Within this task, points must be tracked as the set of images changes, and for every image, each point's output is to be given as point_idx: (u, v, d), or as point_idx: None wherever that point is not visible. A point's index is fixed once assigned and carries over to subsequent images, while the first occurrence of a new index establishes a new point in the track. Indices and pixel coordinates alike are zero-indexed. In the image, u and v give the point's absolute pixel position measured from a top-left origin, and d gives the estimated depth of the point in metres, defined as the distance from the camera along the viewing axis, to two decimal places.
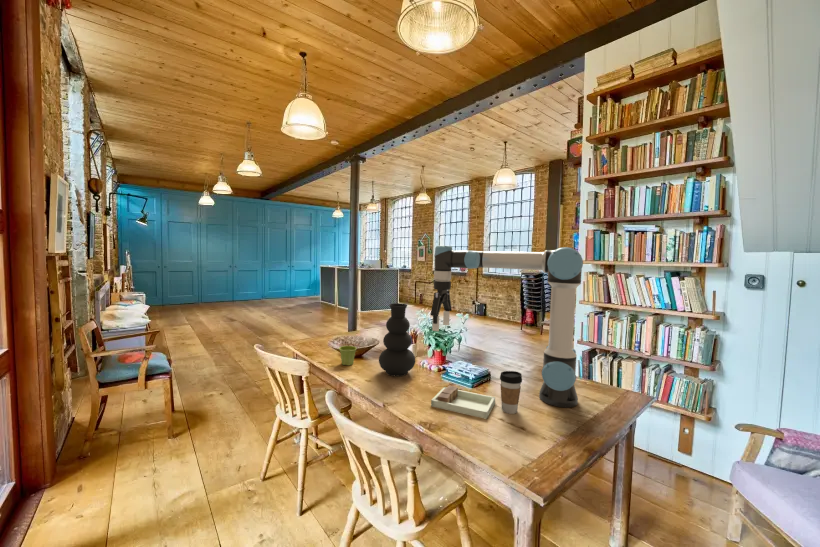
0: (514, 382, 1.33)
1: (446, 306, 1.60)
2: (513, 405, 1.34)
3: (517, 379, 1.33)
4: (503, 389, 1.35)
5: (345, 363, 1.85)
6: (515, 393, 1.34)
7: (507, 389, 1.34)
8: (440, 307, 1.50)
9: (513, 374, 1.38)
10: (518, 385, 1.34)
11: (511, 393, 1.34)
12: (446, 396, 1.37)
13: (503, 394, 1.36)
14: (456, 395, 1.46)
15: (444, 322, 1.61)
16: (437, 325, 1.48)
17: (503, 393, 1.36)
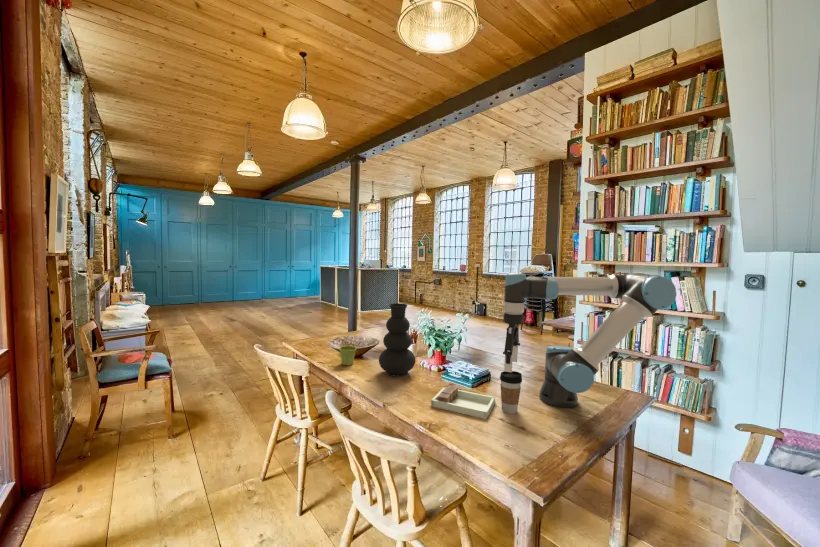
0: (514, 382, 1.33)
1: (515, 340, 1.41)
2: (513, 405, 1.34)
3: (517, 379, 1.33)
4: (503, 389, 1.35)
5: (345, 363, 1.85)
6: (515, 393, 1.34)
7: (507, 389, 1.34)
8: (513, 344, 1.31)
9: (513, 374, 1.38)
10: (518, 385, 1.34)
11: (511, 393, 1.34)
12: (446, 396, 1.37)
13: (503, 394, 1.36)
14: (456, 395, 1.46)
15: None
16: (510, 365, 1.30)
17: (503, 393, 1.36)
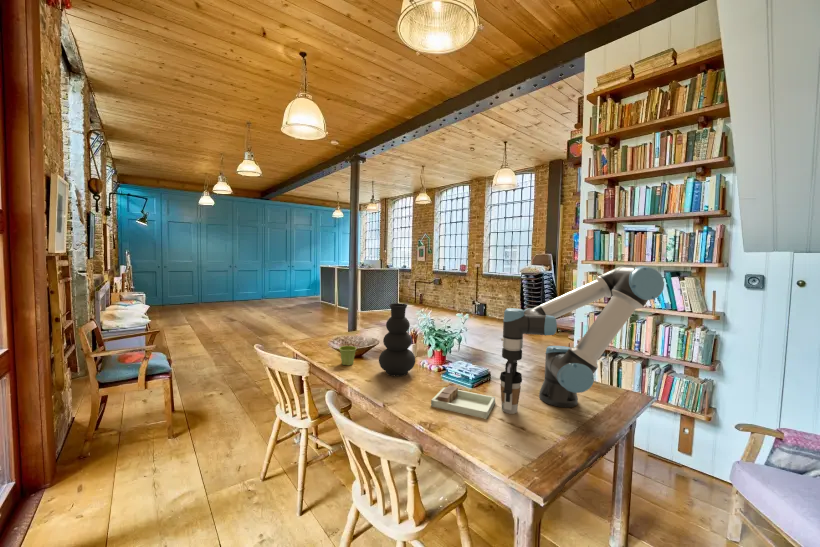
0: (514, 382, 1.33)
1: None
2: (513, 405, 1.34)
3: (517, 379, 1.33)
4: (503, 389, 1.35)
5: (345, 363, 1.85)
6: (515, 393, 1.34)
7: None
8: (512, 381, 1.33)
9: None
10: (518, 385, 1.34)
11: None
12: (446, 396, 1.37)
13: (503, 394, 1.36)
14: (456, 395, 1.46)
15: None
16: (510, 403, 1.33)
17: (503, 393, 1.36)
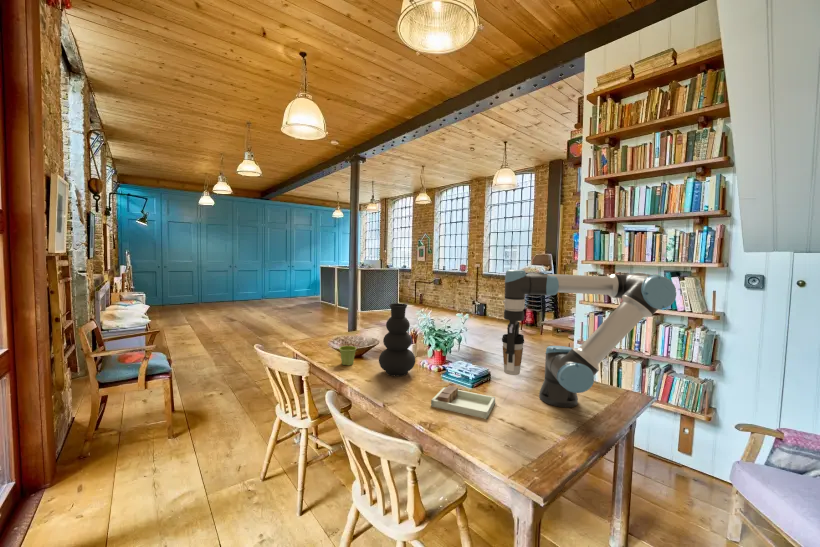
0: (516, 343, 1.32)
1: None
2: (515, 366, 1.33)
3: (519, 340, 1.32)
4: (505, 351, 1.34)
5: (345, 363, 1.85)
6: (517, 354, 1.33)
7: None
8: None
9: None
10: (520, 346, 1.33)
11: None
12: (446, 396, 1.37)
13: (505, 356, 1.35)
14: (456, 395, 1.46)
15: None
16: (513, 364, 1.32)
17: (505, 355, 1.35)
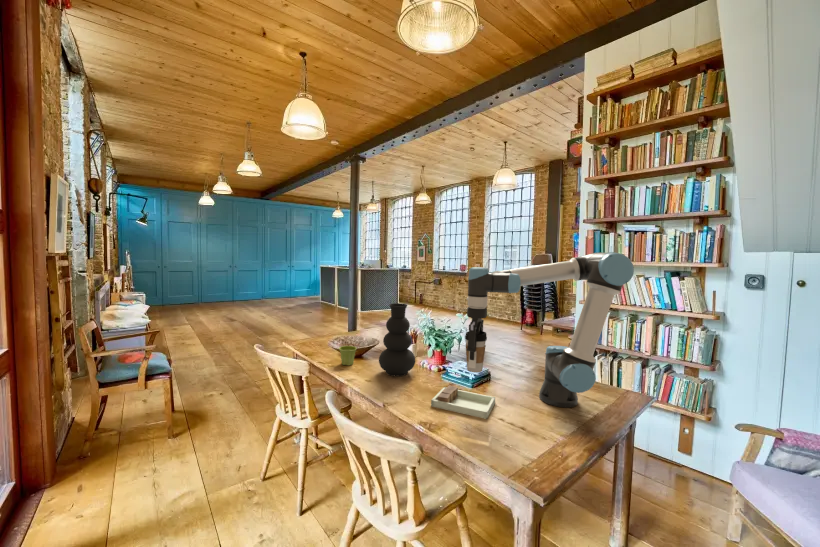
0: (478, 340, 1.32)
1: None
2: (477, 364, 1.33)
3: (481, 337, 1.32)
4: None
5: (345, 363, 1.85)
6: (479, 351, 1.33)
7: None
8: None
9: None
10: (482, 343, 1.33)
11: None
12: (446, 396, 1.37)
13: (468, 353, 1.35)
14: (456, 395, 1.46)
15: None
16: (474, 361, 1.32)
17: (467, 352, 1.35)
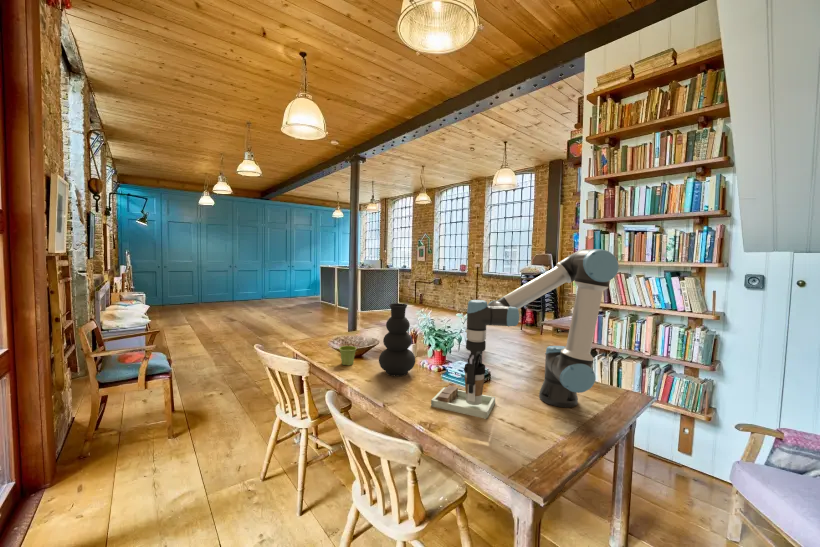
0: (477, 373, 1.33)
1: None
2: (476, 396, 1.34)
3: (480, 370, 1.33)
4: (466, 380, 1.35)
5: (345, 363, 1.85)
6: (478, 384, 1.34)
7: None
8: None
9: None
10: (481, 376, 1.34)
11: None
12: (446, 396, 1.37)
13: (467, 385, 1.35)
14: (456, 395, 1.46)
15: None
16: (473, 395, 1.33)
17: (466, 385, 1.36)
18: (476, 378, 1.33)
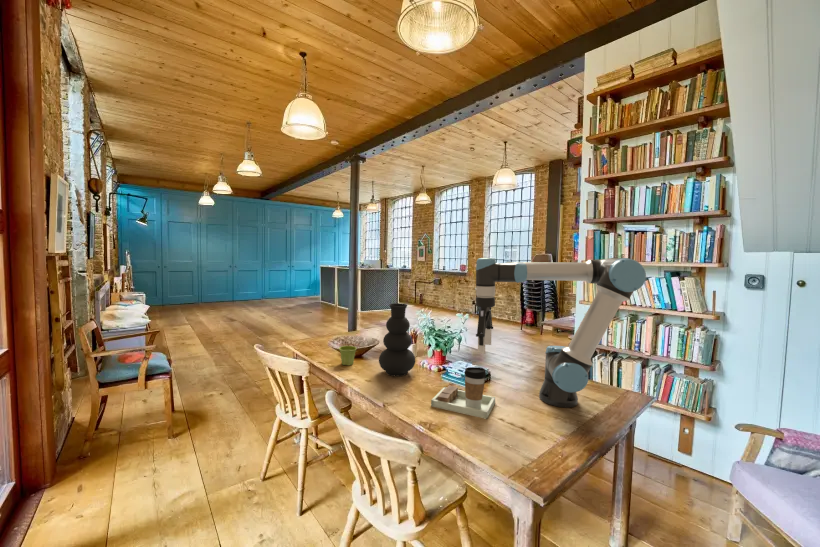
0: (477, 377, 1.33)
1: (488, 324, 1.45)
2: (476, 401, 1.35)
3: (480, 374, 1.34)
4: (467, 384, 1.36)
5: (345, 363, 1.85)
6: (478, 389, 1.34)
7: (471, 384, 1.34)
8: (485, 326, 1.35)
9: (478, 370, 1.39)
10: (481, 381, 1.34)
11: (474, 389, 1.34)
12: (446, 396, 1.37)
13: (467, 390, 1.36)
14: (456, 395, 1.46)
15: (486, 341, 1.47)
16: (483, 347, 1.34)
17: (467, 389, 1.36)
18: (476, 382, 1.34)
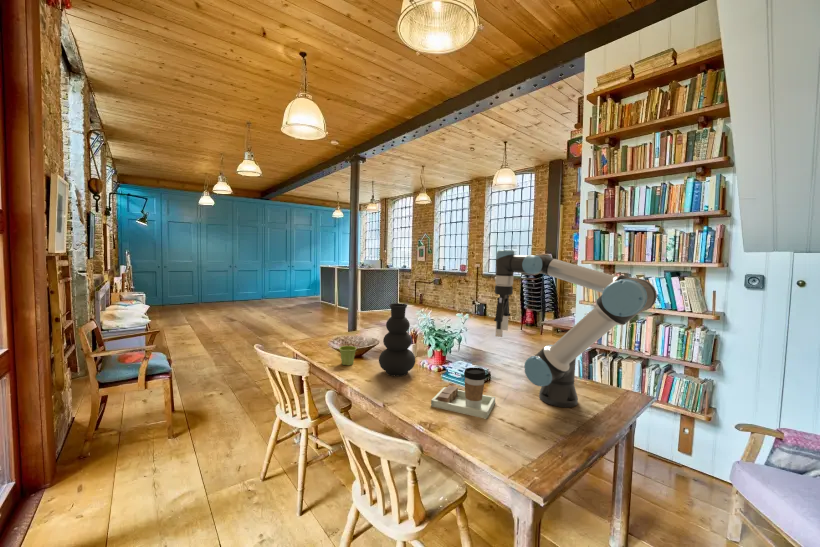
0: (477, 378, 1.33)
1: (505, 311, 1.58)
2: (476, 401, 1.34)
3: (480, 375, 1.33)
4: (467, 385, 1.35)
5: (345, 363, 1.85)
6: (478, 389, 1.34)
7: (470, 386, 1.34)
8: (503, 312, 1.48)
9: (477, 370, 1.38)
10: (481, 381, 1.34)
11: (474, 390, 1.34)
12: (446, 396, 1.37)
13: (467, 390, 1.36)
14: (456, 395, 1.46)
15: (503, 327, 1.59)
16: (501, 331, 1.46)
17: (466, 390, 1.36)
18: (476, 383, 1.33)
